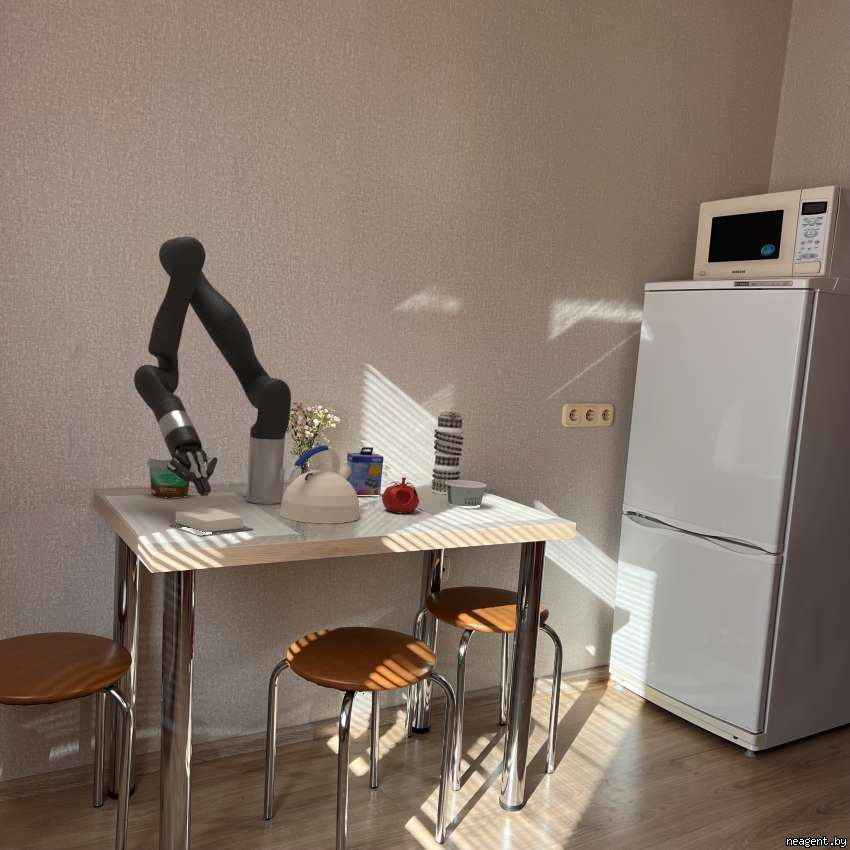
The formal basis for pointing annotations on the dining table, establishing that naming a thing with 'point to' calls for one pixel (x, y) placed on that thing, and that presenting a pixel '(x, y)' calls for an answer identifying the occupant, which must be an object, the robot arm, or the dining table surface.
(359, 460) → the ink cartridge box
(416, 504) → the pomegranate
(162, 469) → the food container
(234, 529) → the mat
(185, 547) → the dining table surface
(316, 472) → the kettle
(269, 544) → the dining table surface
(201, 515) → the tile
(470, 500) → the food container
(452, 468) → the leaning tower model
